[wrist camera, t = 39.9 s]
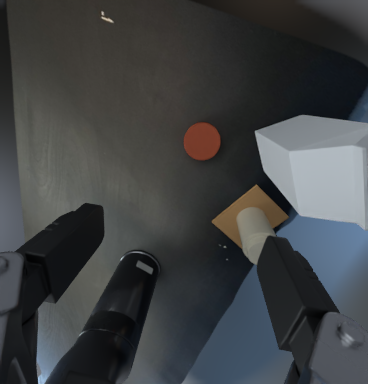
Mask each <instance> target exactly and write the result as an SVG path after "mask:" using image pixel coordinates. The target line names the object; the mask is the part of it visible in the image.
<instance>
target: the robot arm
mask: <svg viewBox="0 0 368 384" xmlns="http://www.w3.org/2000/svg"><path fill="white" fill-rule="evenodd" d="M103 237H104V212H103V207H102V206H101V205H95V204H89V203H85V204H83V205H82V206H81V207H79V208H78V209H77V210H76V211H71V212H69V213H67V214H64V215H62V216H60V217H59V218H58V219H56V220H55V221H54V222H52V224H50V225H48V226H47V227H46V228H45V230H42V231H41V232H39V233H38V234H37V235H35V236H34V237H33V238H32V239H30V240H29V241H28V242H26V243H25V244H24V245H23V246H21V247H20V248H19V249H17V250H16V251H15V252H1V253H0V384H38V378H37V369H36V356H37V334H38V308H39V306H40V305H41V304H42V303H43V302H49V303H54V304H56V302H57V301H58V300H59V298H60V297H61V296H62V294H63V293H64V292H65V290H66V289H67V288H68V287H69V285H70V284H71V283H72V281H73V280H74V279H75V277H76V276H77V275H78V273H79V272H80V271H81V269H82V268H83V267H84V265H85V264H86V263H87V261H88V260H89V259H90V258H91V256H92V255H93V254H94V252H95V251H96V250H97V248H98V247H99V246H100V244H101V243H102V240H103ZM159 273H160V265H159V262H158V261H157V259H156V258H155V257H154V256H152V255H151V254H149V253H147V252H144V251H140V250H133V251H129V252H127V253H126V254H124V255H123V257H122V258H121V260H120V263H119V265H118V267H117V268H116V270H115V272H114V274H113V276H112V277H111V279H110V281H109V283H108V285H107V286H106V288H105V290H104V292H103V294H102V295H101V297H100V299H99V301H98V303H97V304H96V306H95V308H94V310H93V312H92V314H91V315H90V317H89V319H88V321H87V323H86V325H85V326H84V328H83V330H82V332H81V334H80V335H79V337H78V339H77V341H76V343H75V344H74V346H73V347H72V348H71V349H70V350H69V351H68V352H67V353H66V354H65V355H64V356H63V357H62V358H61V359H60V361H59V362H58V363H57V365H56V366H55V368H54V369H53V371H52V372H51V374H50V376H49V377H48V379H47V380H46V382H45V384H121V383H123V382H124V381H125V380H126V379H127V378H128V376H129V374H130V371H131V368H132V365H133V362H134V358H135V355H136V351H137V348H138V344H139V341H140V337H141V333H142V330H143V326H144V323H145V320H146V316H147V313H148V309H149V306H150V302H151V299H152V295H153V292H154V288H155V285H156V282H157V278H158V276H159ZM257 274H258V277H259V281H260V284H261V288H262V291H263V295H264V298H265V302H266V305H267V309H268V312H269V315H270V319H271V322H272V326H273V329H274V332H275V336H276V340H277V343H278V347H279V349H280V350H286V351H290V352H292V354H293V357H294V361H293V362H292V364H291V367H290V369H289V372H288V375H287V378H286V380H285V383H284V384H368V332H367V331H366V330H365V329H364V328H363V327H362V326H361V325H359V324H358V323H357V322H355V321H354V320H352V319H351V318H349V317H347V316H345V315H343V314H340V312H339V310H338V309H337V307H336V306H335V304H334V302H333V301H332V299H331V298H330V296H329V294H328V293H327V291H326V290H325V288H324V287H323V285H322V283H321V282H320V281H319V280H318V277H317V275H316V274H315V272H313V269H312V267H311V266H310V264H309V263H308V261H307V260H306V259H305V258H304V257H303V256H302V255H301V254H300V253H299V252H298V251H294V250H293V248H292V246H291V245H290V243H289V241H288V240H287V239H286V238H282V237H277V236H271V235H269V236H267V238H266V240H265V243H264V245H263V248H262V251H261V253H260V256H259V258H258V262H257Z"/></svg>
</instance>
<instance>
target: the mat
mask: <svg viewBox="0 0 368 384" xmlns="http://www.w3.org/2000/svg"><path fill="white" fill-rule="evenodd" d="M249 207H256V208H259V209H261V210H263V211H264V212H265V214H266V216H267V218H268V220H269V222H270V224H271V225H272V227H273V228H274V227H276V226H277V225H279V224H280V223H282V222H283V221H285V220H286V219H288V218H289V217H288V215H287V214H286V213H285V212H284V211H283V210H282V209H281V208H280V207H279V206H278V205H277V204H276V203H275V202H274V201H273V200H272V199H271V198H270V197H269V196H268V195H267V194H266V193H265V192H264V191H263V190H262V189H261V188H260V187H259V186H258V185H255V186H254V187H253V188H251V189H250V190H249V191H248V192H247V193H245V194H244V195H243V196H242V197H240V198H239V199H238V200H237V201H235V202H234V203H233V204H232V205H230V206H229V207H228V208H227V209H226V210H224V211H223V212H222V213H221V214H219V215H218V216H217V217H216V218H214V219H213V220H212V223H213V224H214V225H216V226H217V227H218V228H219V229H220V230H221V231H222V232H224V233H225V234H226V235H227V236H228V237H229V238H230V239H232V240H233V241H234V242H235V243H236V244H237V245H238V246H240V247H241V248H242V245H241V240H240V236H239V232H238V227H237V223H236V218H237V216H238V214H239V213H240V212H241V211H242V210H243V209H245V208H249Z"/></svg>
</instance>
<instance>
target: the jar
mask: <svg viewBox="0 0 368 384" xmlns="http://www.w3.org/2000/svg"><path fill="white" fill-rule="evenodd" d="M236 223H237V227H238V232H239V236H240V240H241V245H242V249H243V252H244V254H245V255H246V256H247V257H248V258H249V260H250V261H251V262H252V263H254V264H256V265H257V262H258V258H259V256H260V253H261V251H262V248H263V245H264V243H265V240H266V238H267V236H269V235H271V236H277V235H276V233H275V231H274V229H273V227H272V225H271V224H270V222H269V220H268V218H267V216H266V214H265V212H264V211H263V210H261V209H259V208H256V207H249V208H245V209H243V210H242V211H241V212H240V213H239V214H238V216H237V218H236Z"/></svg>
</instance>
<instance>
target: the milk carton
mask: <svg viewBox="0 0 368 384" xmlns="http://www.w3.org/2000/svg"><path fill="white" fill-rule="evenodd" d="M255 135H256V140H257V144H258V148H259V153H260V157H261V161H262V166H263V170H264V172H265V173H266V174H267V175H268V177H269V178H270V179H271V180H272V182H273V183H274V184H275V185H276V186H277V188H278V189H279V190H280V191H281V193H282V194H283V195H284V196H285V197H286V199H287V200H288V201H289V202H290V204H291V205H292V206H293V207H294V209H295V210H296V211H297V212H298V213H299V215H300V216H305V217H312V218H320V219H327V220H334V221H342V222H349V223H356V224H358V225H359V226H360V227H362V228H363V229H364V230H368V123H362V122H354V121H347V120H339V119H331V118H323V117H315V116H308V115H300V116H297V117H294V118H291V119H288V120H285V121H283V122H280V123H277V124H274V125H271V126H268V127H265V128H262V129H259V130H256V131H255Z"/></svg>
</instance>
